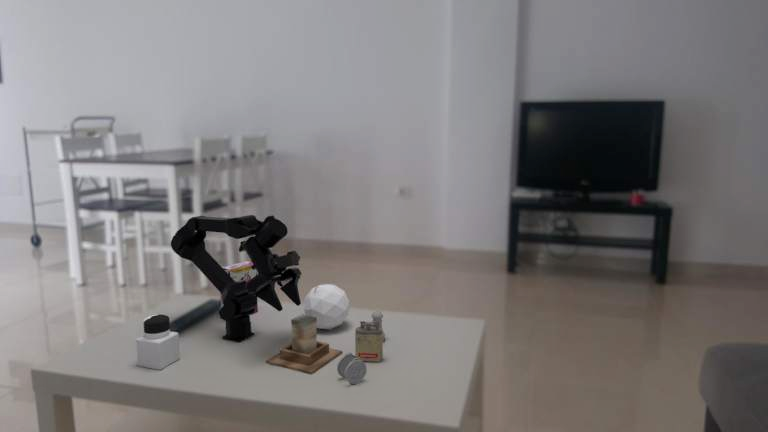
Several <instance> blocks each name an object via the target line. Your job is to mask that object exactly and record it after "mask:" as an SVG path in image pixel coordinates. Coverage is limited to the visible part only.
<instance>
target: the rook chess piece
mask: <svg viewBox="0 0 768 432" xmlns="http://www.w3.org/2000/svg"><path fill="white" fill-rule="evenodd" d="M371 318H372V321H371V322H376V321H379V328H381V329H382V333H383V342H385V340H386V334H385V332H384V330H383V320H382V318H384V315H383V313H382V311H379V310H376V311H373V312H372V314H371ZM372 324H376V323H372Z"/></svg>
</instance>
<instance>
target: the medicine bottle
mask: <svg viewBox="0 0 768 432" xmlns="http://www.w3.org/2000/svg"><path fill="white" fill-rule="evenodd" d="M142 324H143V335H142V336H140V337H139V336H138V338H136V339H135V342H136V343H135V344H136V355H137V356H136V357H137V358H136V359H137V366H138V367H142V368H148V369H153V370H159V371H161V370H162V369H165V368H166V367H168V366H170V365H171V364H173V363H175V362H177V361H178V360H180V358H181V355H180V339H179V338H180V337H179V332H176V331H171V323H170V317H169V316H168V315H167V314H160V313H159V314H152V315H150V316H147V317H145V318H144V319H143V321H142Z"/></svg>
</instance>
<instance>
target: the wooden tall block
mask: <svg viewBox="0 0 768 432" xmlns="http://www.w3.org/2000/svg"><path fill="white" fill-rule="evenodd" d="M316 322H317V320H316V317H312V316H308V315H306V314H305V313H304V314H301V315H300V314H299V315H298V316H296V317H293V318H291V319H290V324H291V343H292V351H295V352H300V353H304V354H309V353H311V352H312V351H314V350H316V349H317V341H318V338H317V336H318V335H317V334H318V333H317V327H316Z"/></svg>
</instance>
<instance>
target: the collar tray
mask: <svg viewBox="0 0 768 432" xmlns="http://www.w3.org/2000/svg"><path fill="white" fill-rule="evenodd" d="M278 351H279V352H277V353H276V354H274V355H273V356H271V357H270V358H267V359H265V364H268V365H272V366H276V367H279V368H285V369H288V370H293V371H297V372H301V373H305V374H309V375H313V374H314V373H316V372H317V371H319V370H320V369H322V368H323V367H324V366H327V364H328V363H330V362H331V361H333V360H335V359H336V358H337V357H338V356H340V355H342V354H343V350H341V349H335V348H331V347H330V343H327V342H323V341H318V340H317V349H316V350H314V351H312V352H311V353H309V354H304V353H300V352H295V351H292V342H291V343H289V344H287V345H286V346H284V347H282V348H280V349H279V350H278Z"/></svg>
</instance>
